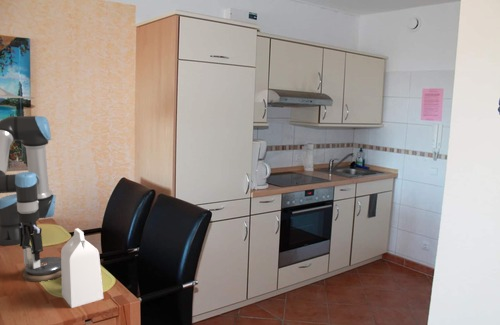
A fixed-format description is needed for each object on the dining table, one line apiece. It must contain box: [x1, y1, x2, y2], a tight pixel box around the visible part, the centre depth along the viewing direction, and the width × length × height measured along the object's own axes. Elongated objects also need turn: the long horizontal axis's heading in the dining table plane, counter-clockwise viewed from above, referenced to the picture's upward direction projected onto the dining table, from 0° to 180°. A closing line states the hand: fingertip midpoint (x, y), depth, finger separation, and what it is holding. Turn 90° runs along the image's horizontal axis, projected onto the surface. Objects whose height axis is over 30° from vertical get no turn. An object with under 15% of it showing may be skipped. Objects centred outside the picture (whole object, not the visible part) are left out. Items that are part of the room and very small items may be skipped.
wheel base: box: [22, 268, 62, 283], centre depth 180 cm, size 17×17×2 cm
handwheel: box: [24, 245, 61, 276], centre depth 179 cm, size 15×15×11 cm
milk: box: [60, 227, 104, 309], centre depth 158 cm, size 12×12×26 cm
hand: (32, 265), depth 175 cm, fingers open, 6 cm apart
